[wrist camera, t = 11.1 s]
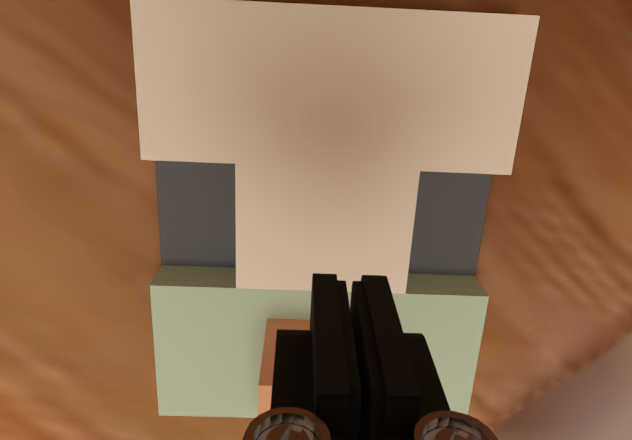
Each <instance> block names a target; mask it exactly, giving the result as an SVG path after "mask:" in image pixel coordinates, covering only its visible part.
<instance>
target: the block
mask: <svg viewBox="0 0 632 440" xmlns="http://www.w3.org/2000/svg"><path fill="white" fill-rule="evenodd" d="M277 329H289V330H310V320H295V319H267V323H266V330H265V338H264V346H263V354H262V361H261V369H260V377H259V385H258V415H260V414H262V413H264V412H266V411H268V410H270V407H271V395H272V383H273V371H274V359H275V346H276V334H277Z"/></svg>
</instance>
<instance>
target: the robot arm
mask: <svg viewBox="0 0 632 440" xmlns="http://www.w3.org/2000/svg"><path fill="white" fill-rule="evenodd" d="M243 440H498V439H497V437H496V436H495V435H494V433H493V432H492V431H491V430H490V429H489V427H487V426H486V425H485V424H483V423H482V422H481V421H479V420H478V419H476V418H473V417H471V416H469V415H467V414H464V413H460V412H456V411H451V410H450V407H449V404H448V401H447V399H446V396H445V393H444V390H443V387H442V384H441V382H440V379H439V376H438V373H437V370H436V367H435V364H434V362H433V359H432V356H431V353H430V350H429V347H428V345H427V342H426V339H425V337H424V335H423V334H422V333H403V330H402V326H401V323H400V319H399V316H398V312H397V309H396V306H395V302H394V299H393V295H392V292H391V289H390V285H389V282H388V278H387V276H382V275H362V277H361V281H353V282H352V290H351V302H350V306H349V299H348V292H347V285H346V281H342V280H337V274H320V273H313V275H312V291H311V311H310V330H289V329H277V334H276V346H275V359H274V371H273V383H272V395H271V407H270V410H268V411H266V412H264V413H262V414H260V415H258V416H257V417H256V418H255V419H254V420H253V421H252V422H251V423H250V424H249V426H248V428H247V430H246V431H245V434H244V437H243Z"/></svg>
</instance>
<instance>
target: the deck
mask: <svg viewBox="0 0 632 440" xmlns="http://www.w3.org/2000/svg"><path fill="white" fill-rule="evenodd" d="M130 9H131V23H132V38H133V52H134V66H135V81H136V95H137V109H138V123H139V138H140V152H141V160H155V162H156V178H157V195H158V212H159V228H160V245H161V261H162V265H161V267H160V269H159V271H158V272H157V274H156V276H155V277H154V279H153V281H152V283H151V284H150V295H151V309H152V323H153V338H154V352H155V366H156V381H157V395H158V409H159V415H166V416H206V417H247V418H256V417H257V416H258V385H259V377H260V369H261V361H262V354H263V346H264V338H265V330H266V323H267V319H295V320H310V311H311V291H312V275H313V273H320V274H337V280H342V281H346V285H347V292H348V299H349V306H350V302H351V290H352V282H353V281H361V277H362V275H382V276H387V278H388V282H389V285H390V289H391V292H392V295H393V299H394V302H395V306H396V309H397V312H398V316H399V319H400V323H401V326H402V330H403V333H422V334H423V335H424V337H425V339H426V342H427V345H428V347H429V350H430V353H431V356H432V359H433V362H434V364H435V367H436V370H437V373H438V376H439V379H440V382H441V384H442V387H443V390H444V393H445V396H446V399H447V401H448V404H449V407H450V410H451V411H456V412H460V413H464V414H467V415H468V410H469V405H470V399H471V394H472V388H473V383H474V377H475V371H476V366H477V360H478V355H479V349H480V344H481V338H482V333H483V327H484V322H485V316H486V311H487V305H488V300H489V296H488V294H487V293H486V291H485V290H484V288H483V287H482V285H481V284H480V282H479V281H478V279H477V278H476V276H475V275H476V269H477V263H478V257H479V251H480V245H481V239H482V233H483V227H484V221H485V215H486V209H487V203H488V197H489V191H490V186H491V180H492V174H500V175H511V172H512V167H513V161H514V156H515V150H516V145H517V139H518V134H519V128H520V123H521V117H522V112H523V106H524V101H525V95H526V90H527V84H528V78H529V73H530V67H531V62H532V56H533V51H534V45H535V40H536V34H537V29H538V23H539V18H540V16H535V15H515V14H496V13H476V12H456V11H437V10H417V9H397V8H377V7H358V6H338V5H318V4H299V3H279V2H259V1H239V0H130Z"/></svg>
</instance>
